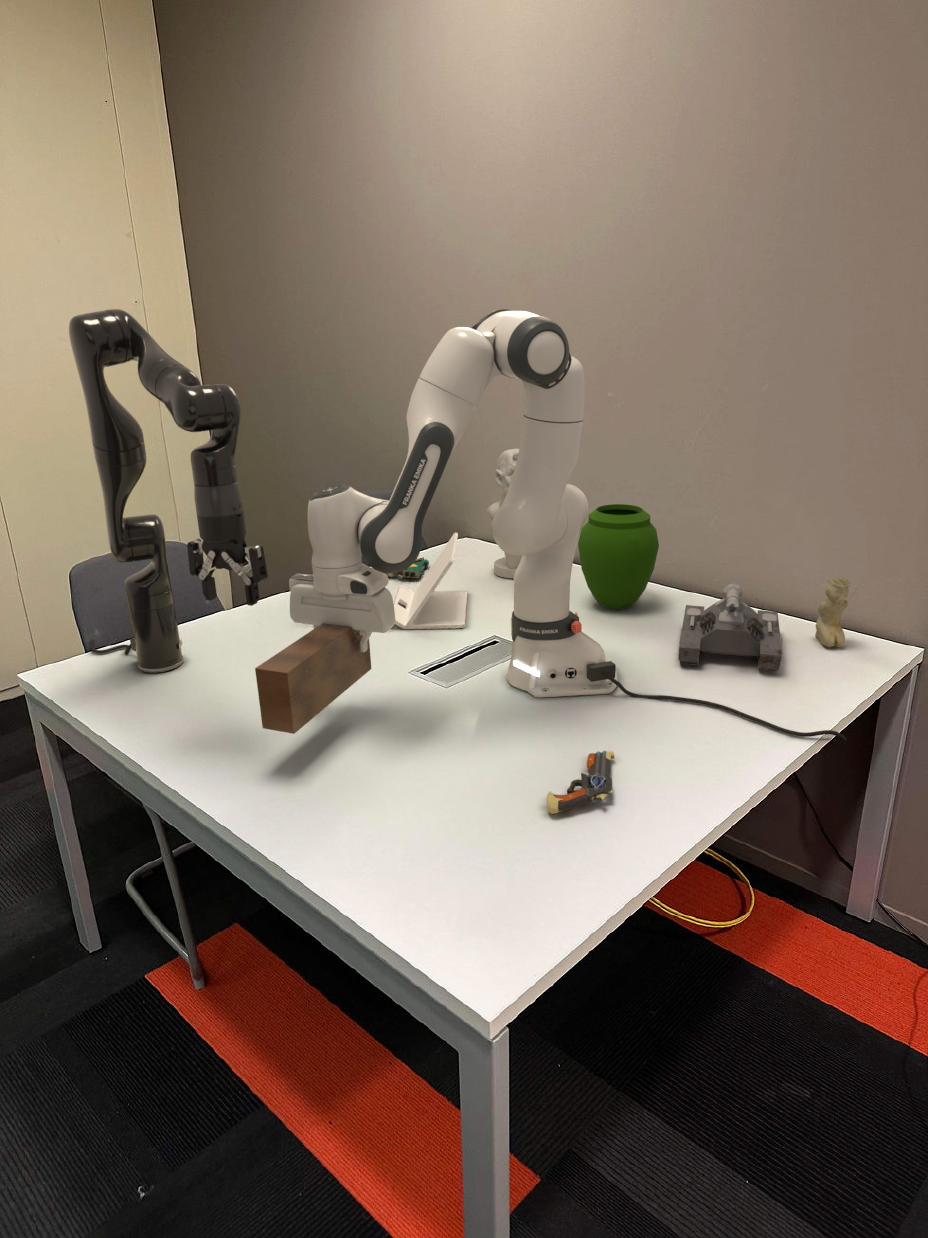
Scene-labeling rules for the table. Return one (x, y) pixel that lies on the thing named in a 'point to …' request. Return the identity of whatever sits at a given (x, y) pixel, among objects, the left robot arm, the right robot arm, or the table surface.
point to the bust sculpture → (503, 478)
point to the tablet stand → (432, 598)
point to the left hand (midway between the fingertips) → (232, 601)
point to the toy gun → (586, 784)
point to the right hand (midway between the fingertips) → (344, 648)
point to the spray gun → (412, 569)
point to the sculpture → (832, 613)
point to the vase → (618, 554)
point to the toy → (731, 631)
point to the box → (309, 676)
